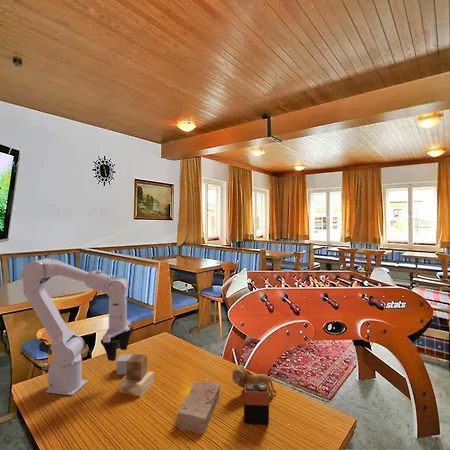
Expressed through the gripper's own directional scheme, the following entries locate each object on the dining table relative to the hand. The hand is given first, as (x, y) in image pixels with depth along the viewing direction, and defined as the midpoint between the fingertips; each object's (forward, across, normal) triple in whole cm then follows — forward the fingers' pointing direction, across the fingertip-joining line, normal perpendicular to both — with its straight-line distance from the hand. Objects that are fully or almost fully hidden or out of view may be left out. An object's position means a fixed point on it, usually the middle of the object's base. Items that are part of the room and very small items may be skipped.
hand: (117, 354), depth 97 cm
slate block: (+10, +9, +2) cm, 14 cm away
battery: (+11, -9, -47) cm, 49 cm away
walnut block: (+7, 0, -7) cm, 10 cm away
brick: (+11, -8, -30) cm, 33 cm away
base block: (+11, 0, -7) cm, 13 cm away
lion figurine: (+11, +2, -46) cm, 47 cm away
